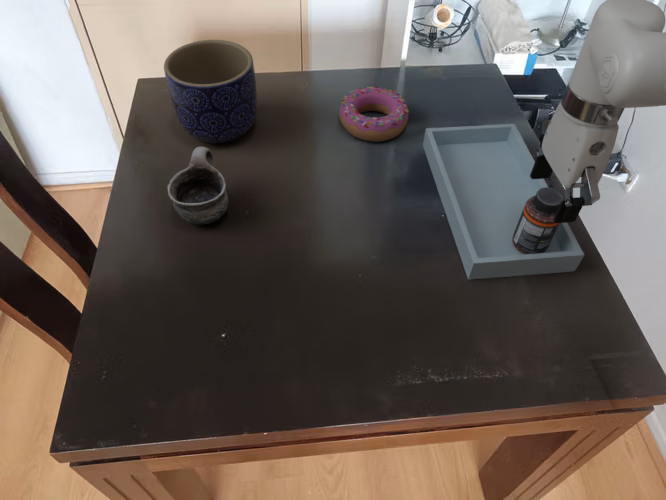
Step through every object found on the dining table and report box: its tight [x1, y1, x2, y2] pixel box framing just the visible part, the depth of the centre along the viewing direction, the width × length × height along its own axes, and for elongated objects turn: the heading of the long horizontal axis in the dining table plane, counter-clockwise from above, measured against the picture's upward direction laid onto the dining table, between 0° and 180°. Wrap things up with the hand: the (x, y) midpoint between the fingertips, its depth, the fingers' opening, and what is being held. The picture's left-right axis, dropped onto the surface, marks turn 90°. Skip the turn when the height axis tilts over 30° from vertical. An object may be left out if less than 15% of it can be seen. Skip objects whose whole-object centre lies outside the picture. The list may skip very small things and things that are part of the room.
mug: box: [167, 146, 229, 226], centre depth 92 cm, size 10×12×10 cm
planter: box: [163, 39, 258, 144], centre depth 105 cm, size 16×17×15 cm
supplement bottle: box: [512, 186, 564, 254], centre depth 86 cm, size 6×6×11 cm
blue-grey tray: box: [422, 123, 585, 281], centre depth 96 cm, size 34×18×4 cm, turn 6°
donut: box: [338, 86, 410, 142], centre depth 111 cm, size 14×14×5 cm
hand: (551, 198), depth 82 cm, fingers open, 9 cm apart
